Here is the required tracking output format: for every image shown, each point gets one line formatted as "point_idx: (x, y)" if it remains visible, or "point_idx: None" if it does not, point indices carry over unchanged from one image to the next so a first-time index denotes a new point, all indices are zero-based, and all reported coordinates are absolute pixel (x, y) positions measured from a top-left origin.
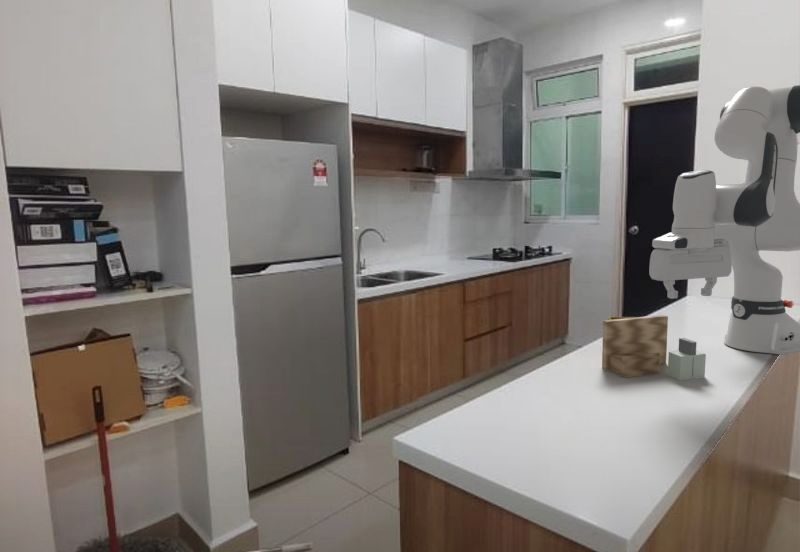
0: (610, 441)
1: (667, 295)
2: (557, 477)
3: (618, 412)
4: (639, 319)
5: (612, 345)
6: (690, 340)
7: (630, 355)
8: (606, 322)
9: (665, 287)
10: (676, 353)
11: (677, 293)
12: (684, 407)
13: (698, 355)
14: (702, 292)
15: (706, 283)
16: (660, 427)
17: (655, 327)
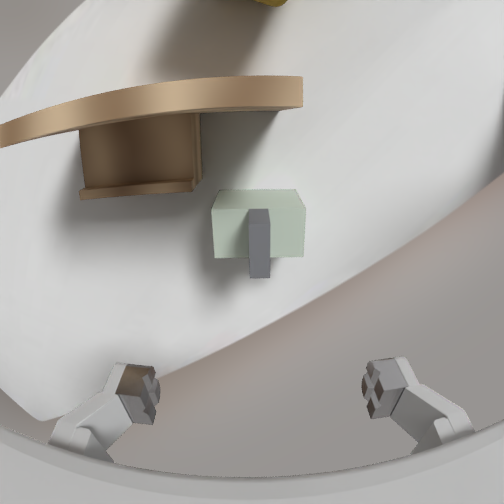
0: (36, 363)
1: (113, 369)
2: (4, 378)
3: (51, 318)
4: (128, 116)
5: (71, 130)
6: (265, 258)
7: (129, 142)
8: (2, 146)
9: (81, 404)
10: (222, 230)
11: (151, 414)
12: (144, 336)
13: (277, 255)
14: (374, 377)
15: (428, 408)
16: (87, 363)
17: (229, 108)
